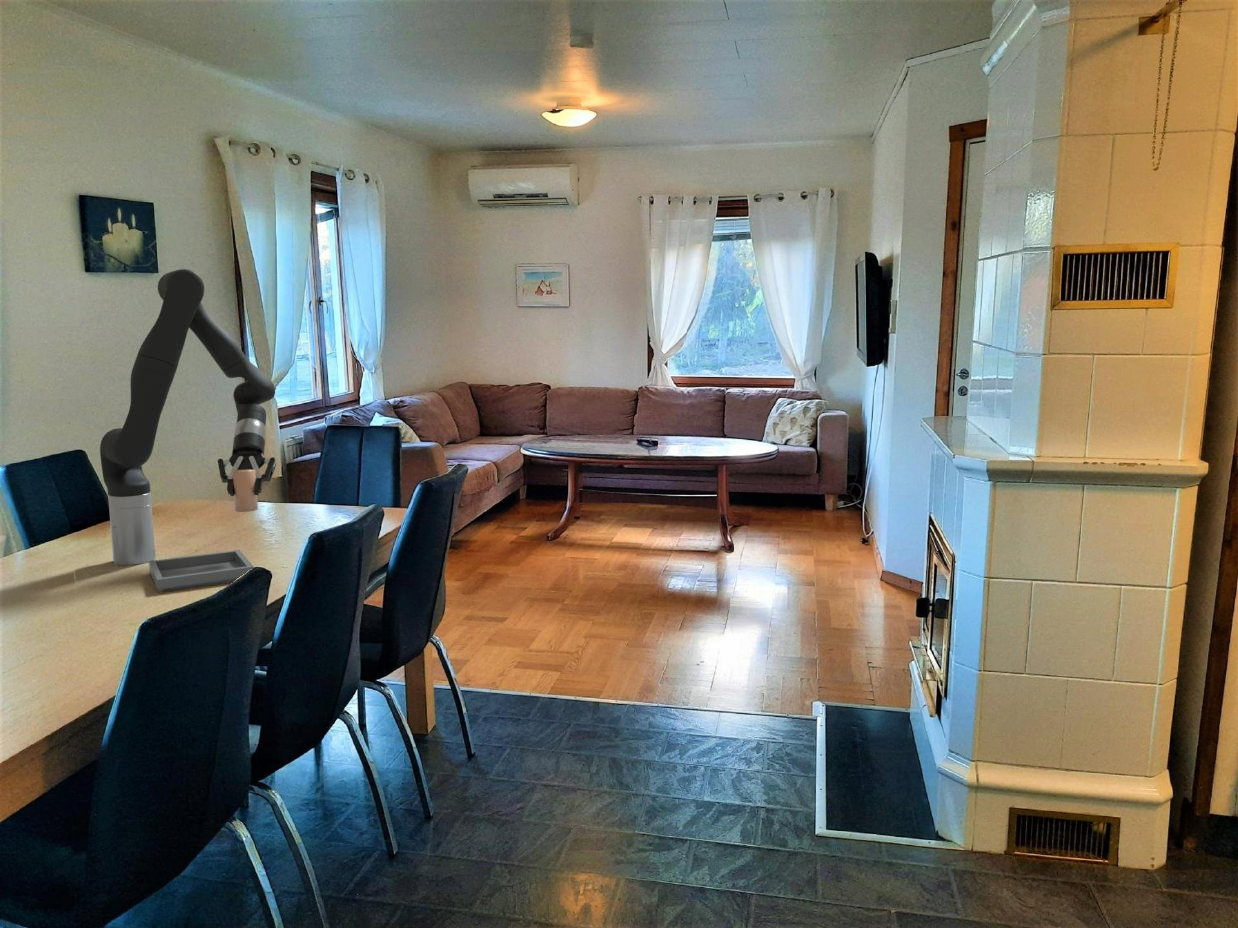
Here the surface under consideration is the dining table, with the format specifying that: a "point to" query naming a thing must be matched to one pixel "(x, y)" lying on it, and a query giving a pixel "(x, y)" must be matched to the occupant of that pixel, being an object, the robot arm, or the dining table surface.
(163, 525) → the dining table surface
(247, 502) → the terracotta canister
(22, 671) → the dining table surface
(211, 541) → the dining table surface
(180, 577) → the charcoal tray
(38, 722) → the dining table surface
